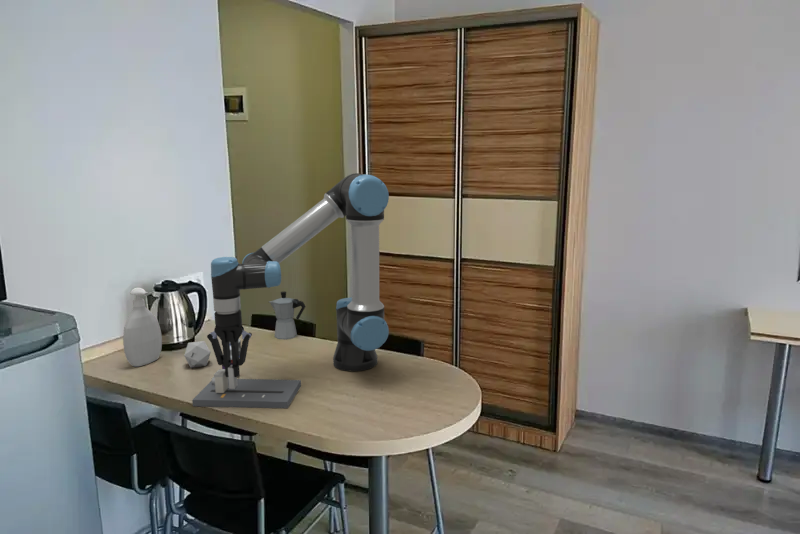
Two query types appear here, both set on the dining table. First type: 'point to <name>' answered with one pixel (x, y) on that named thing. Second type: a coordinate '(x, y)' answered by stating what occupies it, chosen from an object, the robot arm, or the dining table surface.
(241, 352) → the robot arm
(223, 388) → the fader knob
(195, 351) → the die
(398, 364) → the dining table surface
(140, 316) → the soap bottle
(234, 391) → the console
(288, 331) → the coffee maker
